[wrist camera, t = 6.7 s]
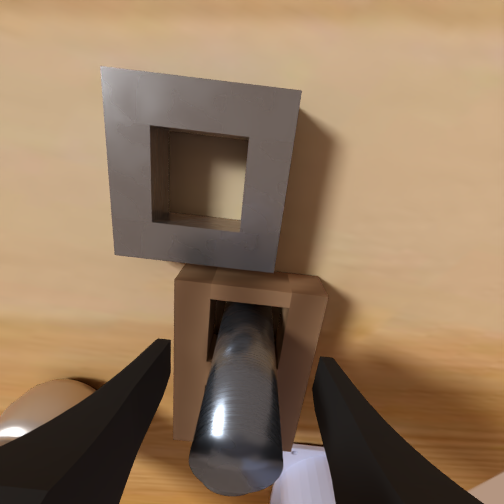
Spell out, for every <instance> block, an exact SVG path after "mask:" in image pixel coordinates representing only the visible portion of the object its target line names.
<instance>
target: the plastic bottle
mask: <svg viewBox="0 0 504 504" xmlns="http://www.w3.org/2000/svg"><path fill="white" fill-rule="evenodd" d="M95 391H96V390H95V389H94V388H92V387H91V386H89V385H87V384H85V383H82V382H79V381H76V380H71V379H55V380H52V381H48V382H45V383H42V384H39V385H36V386H35V387H33V388H31V389H30V390H28V391H27V392H26V393H25V394H23V395H22V396H21V397H19V398H18V399H17V400H16V401H14V402H13V403H12V404H11V405H10V406H8V407H7V408H6V410H5V411H4V412H3V413H2V415H1V416H0V446H2V445H4V444H6V443H9V442H11V441H13V440H15V439H17V438H19V437H20V436H22V435H24V434H26V433H28V432H30V431H32V430H34V429H36V428H37V427H39V426H41V425H43V424H45V423H46V422H48V421H50V420H52V419H53V418H55V417H57V416H58V415H60V414H62V413H63V412H65V411H66V410H68V409H70V408H71V407H73V406H75V405H76V404H78V403H79V402H81V401H82V400H84V399H85V398H87V397H88V396H89V395H91V394H92V393H94V392H95Z"/></svg>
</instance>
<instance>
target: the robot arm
mask: <svg viewBox="0 0 504 504" xmlns="http://www.w3.org/2000/svg"><path fill="white" fill-rule="evenodd" d="M170 373H171V340H167V339H157V340H155V341H154V342H153V343H152V344H151V345H150V346H149V347H148V348H147V349H146V350H145V351H144V352H142V353H141V354H140V355H139V356H138V357H137V358H136V359H135V360H134V361H132V362H131V363H130V364H129V365H128V366H127V367H125V368H124V369H123V370H122V371H121V372H120V373H118V374H117V375H116V376H115V377H113V378H112V379H111V380H110V381H108V382H107V383H106V384H105V385H103V386H102V387H101V388H99V389H98V390H96V391H95V392H94V393H92V394H91V395H89V396H88V397H87V398H85V399H84V400H82V401H81V402H79V403H78V404H76V405H75V406H73V407H71V408H70V409H68V410H66V411H65V412H63V413H62V414H60V415H58V416H57V417H55V418H53V419H52V420H50V421H48V422H46V423H45V424H43V425H41V426H39V427H37V428H36V429H34V430H32V431H30V432H28V433H26V434H24V435H22V436H20V437H19V438H17V439H15V440H13V441H11V442H9V443H6V444H4V445H2V446H0V504H119V502H120V499H121V496H122V494H123V491H124V488H125V485H126V482H127V479H128V477H129V474H130V471H131V468H132V466H133V463H134V460H135V457H136V455H137V453H138V450H139V448H140V445H141V443H142V441H143V439H144V437H145V434H146V432H147V430H148V428H149V426H150V424H151V421H152V419H153V417H154V415H155V413H156V410H157V408H158V406H159V404H160V402H161V399H162V397H163V395H164V392H165V389H166V386H167V383H168V380H169V376H170ZM312 392H313V400H314V407H315V413H316V417H317V421H318V425H319V429H320V433H321V437H322V441H323V445H324V447H321V446H311V445H302V444H293V446H292V450H291V452H287V451H283V471H282V473H281V475H280V477H279V478H278V479H277V480H276V481H275V482H274V484H273V488H272V493H271V497H270V504H484V503H482V502H481V501H479V500H478V499H477V498H475V497H474V496H472V495H471V494H470V493H468V492H467V491H465V490H464V489H463V488H461V487H460V486H459V485H458V484H456V483H455V482H454V481H452V480H451V479H450V478H449V477H447V476H446V475H445V474H443V473H442V472H441V471H440V470H439V469H437V468H436V467H435V466H434V465H432V464H431V463H430V462H429V461H428V460H427V459H425V458H424V457H423V456H422V455H421V454H420V453H419V452H417V451H416V450H415V449H414V448H413V447H412V446H411V445H410V444H408V443H407V442H406V441H405V440H404V439H403V438H402V437H401V436H400V435H399V434H398V433H397V432H396V431H395V430H394V429H393V428H392V427H391V426H390V425H389V424H388V423H387V422H386V421H385V420H384V419H383V418H382V417H381V416H380V415H379V414H378V413H377V411H376V410H375V409H374V408H373V407H372V406H371V405H370V404H369V402H368V401H367V400H366V399H365V398H364V397H363V395H362V394H361V393H360V392H359V391H358V389H357V388H356V387H355V386H354V384H353V383H352V382H351V381H350V379H349V378H348V377H347V375H346V374H345V373H344V372H343V370H342V369H341V368H340V366H339V365H338V364H337V362H336V361H335V360H334V359H333V358H330V357H321V356H320V360H319V364H318V367H317V371H316V375H315V379H314V383H313V387H312Z"/></svg>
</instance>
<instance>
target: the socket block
mask: <svg viewBox="0 0 504 504" xmlns="http://www.w3.org/2000/svg"><path fill="white" fill-rule="evenodd" d="M100 69H101V82H102V95H103V108H104V121H105V134H106V147H107V160H108V173H109V186H110V199H111V212H112V225H113V238H114V251H115V255H119V256H128V257H137V258H145V259H154V260H163V261H172V262H181V263H189V264H198V265H207V266H216V267H225V268H233V269H242V270H251V271H260V272H269V273H274V268H275V262H276V255H277V249H278V242H279V236H280V229H281V223H282V216H283V210H284V203H285V197H286V190H287V184H288V177H289V171H290V164H291V158H292V151H293V145H294V138H295V132H296V125H297V119H298V112H299V106H300V99H301V93H302V91H301V90H293V89H285V88H276V87H268V86H260V85H252V84H244V83H235V82H227V81H219V80H211V79H202V78H194V77H186V76H178V75H170V74H161V73H153V72H145V71H137V70H128V69H120V68H112V67H104V66H100ZM169 131H173V132H182V133H190V134H199V135H207V136H215V137H224V138H232V139H240V140H249V144H248V154H247V164H246V174H245V184H244V195H243V205H242V215H241V220H233V219H224V218H216V217H207V216H198V215H190V214H181V213H172V212H169Z"/></svg>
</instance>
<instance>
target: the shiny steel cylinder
mask: <svg viewBox="0 0 504 504" xmlns="http://www.w3.org/2000/svg"><path fill="white" fill-rule="evenodd" d="M189 465H190V468H191V470H192V472H193V474H194V475H195V476H196V477H197V478H198V479H199V480H200V481H201V482H202V483H204V484H205V485H207V486H209V487H211V488H213V489H216V490H219V491H223V492H228V493H239V494H242V493H251V492H256V491H259V490H262V489H265V488H267V487H268V486H270V485H272V484H273V483H274V482H275V481H276V480H277V479H278V478H279V477H280V475H281V473H282V471H283V451H282V438H281V425H280V411H279V398H278V385H277V372H276V359H275V346H274V333H273V320H272V307H271V306H267V305H258V304H250V303H241V302H232V301H226V304H225V308H224V312H223V317H222V321H221V325H220V329H219V333H218V338H217V342H216V346H215V350H214V354H213V358H212V363H211V367H210V371H209V375H208V379H207V383H206V388H205V392H204V396H203V400H202V404H201V408H200V413H199V417H198V421H197V425H196V429H195V434H194V438H193V442H192V446H191V450H190V455H189Z"/></svg>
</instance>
